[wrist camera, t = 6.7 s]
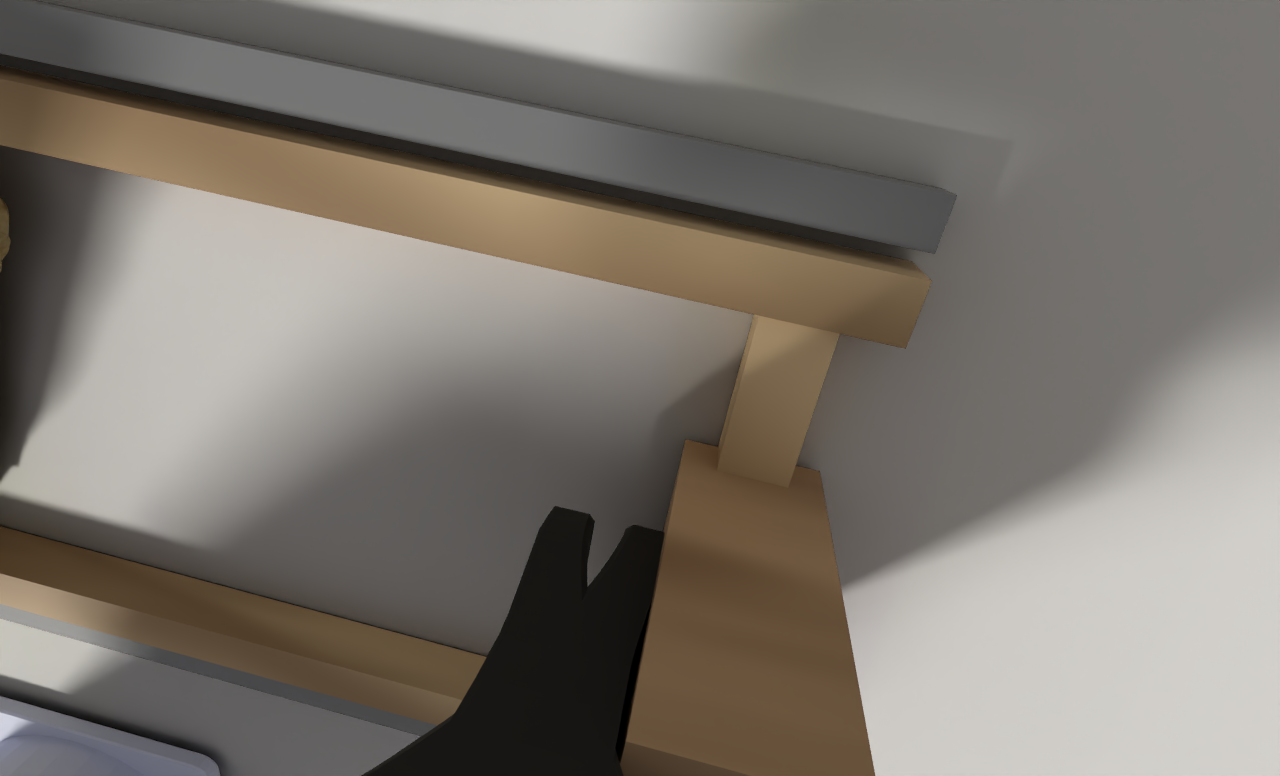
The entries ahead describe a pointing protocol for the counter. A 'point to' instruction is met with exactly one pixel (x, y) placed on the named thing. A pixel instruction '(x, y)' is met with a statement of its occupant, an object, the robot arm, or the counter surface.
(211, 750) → the counter surface
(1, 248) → the rock
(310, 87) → the rails
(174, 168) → the oak sled
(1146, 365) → the counter surface
